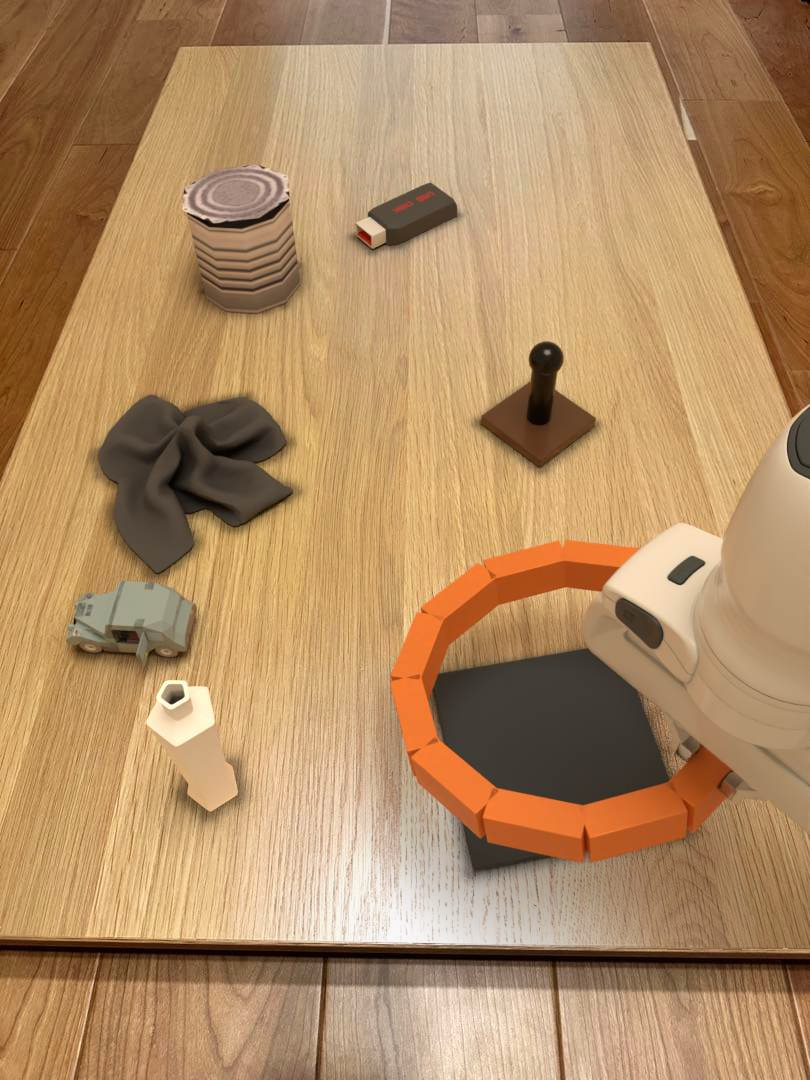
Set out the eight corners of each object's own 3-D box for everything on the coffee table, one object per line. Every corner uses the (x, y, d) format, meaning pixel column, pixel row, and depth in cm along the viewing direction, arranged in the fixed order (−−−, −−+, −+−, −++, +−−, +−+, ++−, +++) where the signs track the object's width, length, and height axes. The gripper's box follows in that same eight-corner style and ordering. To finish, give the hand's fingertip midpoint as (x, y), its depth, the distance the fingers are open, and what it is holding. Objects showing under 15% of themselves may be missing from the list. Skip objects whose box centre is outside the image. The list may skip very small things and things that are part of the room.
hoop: (333, 707, 70) (324, 681, 68) (560, 526, 80) (558, 499, 78) (593, 940, 56) (591, 916, 54) (834, 683, 65) (840, 654, 63)
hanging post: (480, 423, 98) (485, 344, 89) (535, 385, 101) (545, 304, 92) (539, 468, 94) (550, 389, 86) (594, 426, 97) (610, 346, 89)
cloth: (101, 404, 100) (85, 359, 95) (283, 384, 101) (275, 339, 96) (90, 582, 87) (70, 540, 82) (299, 556, 88) (291, 513, 83)
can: (205, 321, 108) (183, 227, 98) (198, 258, 114) (177, 165, 105) (308, 306, 109) (296, 212, 99) (295, 244, 115) (283, 151, 106)
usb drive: (457, 215, 118) (458, 195, 116) (377, 254, 114) (376, 234, 112) (430, 196, 121) (430, 176, 119) (351, 233, 117) (350, 213, 114)
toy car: (86, 609, 85) (70, 577, 81) (199, 616, 84) (188, 584, 81) (65, 674, 81) (47, 644, 77) (184, 682, 81) (171, 652, 77)
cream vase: (229, 823, 73) (190, 735, 61) (176, 805, 74) (128, 715, 62) (254, 768, 76) (222, 673, 64) (203, 751, 77) (162, 655, 65)
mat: (618, 647, 82) (619, 642, 81) (685, 831, 72) (687, 827, 72) (430, 679, 80) (430, 674, 80) (473, 871, 71) (474, 867, 70)
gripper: (1006, 757, 45) (891, 859, 56) (655, 504, 54) (616, 634, 65) (934, 849, 42) (828, 937, 54) (579, 567, 52) (551, 691, 63)
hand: (709, 769), depth 59 cm, fingers closed on hoop, 2 cm apart
